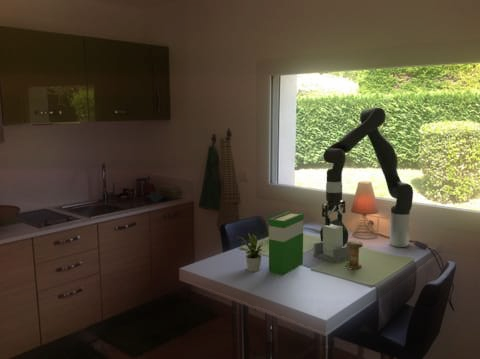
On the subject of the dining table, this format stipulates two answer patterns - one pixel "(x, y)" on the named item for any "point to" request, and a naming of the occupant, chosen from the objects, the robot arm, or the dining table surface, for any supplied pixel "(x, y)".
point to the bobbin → (354, 254)
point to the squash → (335, 222)
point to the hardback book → (285, 243)
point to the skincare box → (332, 239)
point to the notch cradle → (338, 253)
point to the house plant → (253, 254)
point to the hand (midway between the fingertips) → (333, 223)
